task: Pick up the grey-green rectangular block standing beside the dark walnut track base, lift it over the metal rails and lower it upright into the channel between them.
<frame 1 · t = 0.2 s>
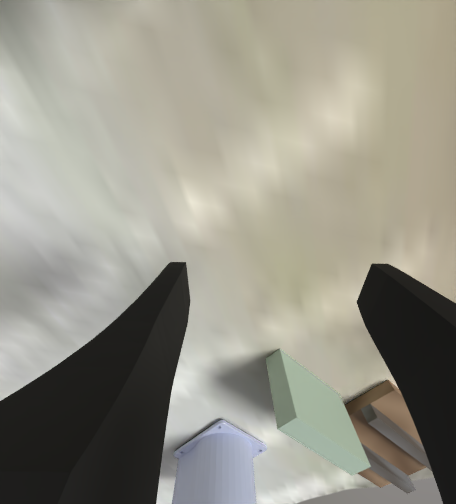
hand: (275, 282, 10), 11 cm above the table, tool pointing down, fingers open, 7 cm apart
track base: (381, 434, 32), on the table
grey-green rectangular block: (303, 376, 27), on the table
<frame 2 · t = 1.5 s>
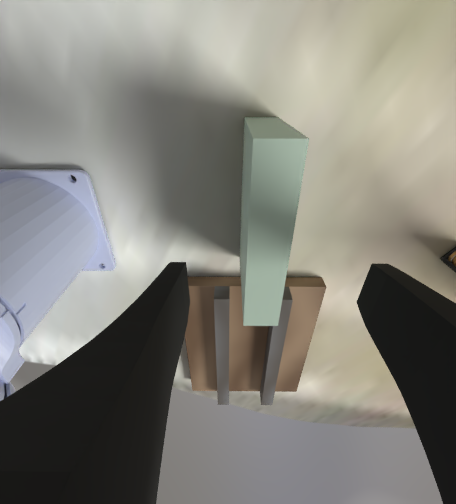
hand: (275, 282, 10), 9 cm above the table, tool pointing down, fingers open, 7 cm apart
track base: (246, 337, 26), on the table
grey-green rectangular block: (255, 197, 18), on the table
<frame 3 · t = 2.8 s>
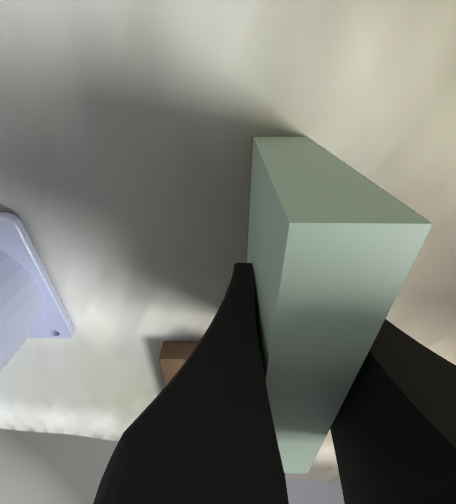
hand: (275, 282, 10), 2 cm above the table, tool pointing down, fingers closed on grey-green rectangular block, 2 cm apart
track base: (251, 405, 20), on the table
grey-green rectangular block: (268, 249, 12), on the table, touching gripper
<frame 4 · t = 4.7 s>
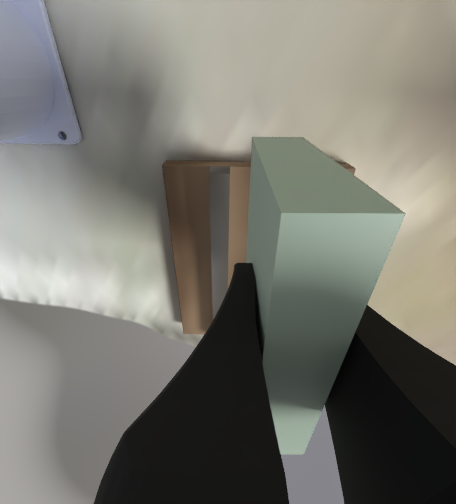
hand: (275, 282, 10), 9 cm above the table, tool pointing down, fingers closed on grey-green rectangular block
track base: (249, 260, 21), on the table
grey-green rectangular block: (266, 245, 13), point 6 cm above the table, touching gripper
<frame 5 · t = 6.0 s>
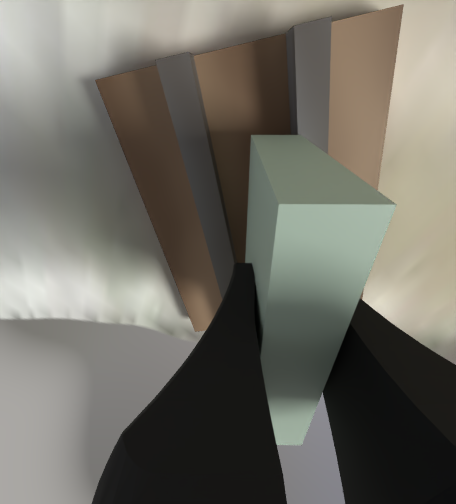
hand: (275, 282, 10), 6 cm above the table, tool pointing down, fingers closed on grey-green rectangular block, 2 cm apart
track base: (260, 216, 15), on the table
grey-green rectangular block: (265, 241, 13), point 3 cm above the table, touching gripper, track base
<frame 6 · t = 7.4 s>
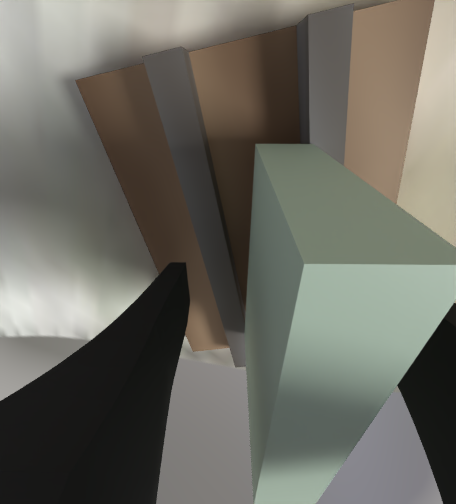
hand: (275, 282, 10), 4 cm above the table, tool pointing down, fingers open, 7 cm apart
track base: (264, 230, 14), on the table
grey-green rectangular block: (270, 261, 11), point 3 cm above the table, touching track base
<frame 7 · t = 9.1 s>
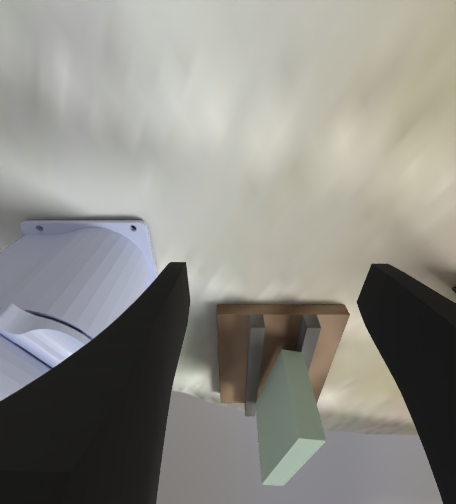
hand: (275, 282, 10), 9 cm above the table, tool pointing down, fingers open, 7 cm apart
track base: (273, 356, 28), on the table
grey-green rectangular block: (276, 380, 26), point 3 cm above the table, touching track base
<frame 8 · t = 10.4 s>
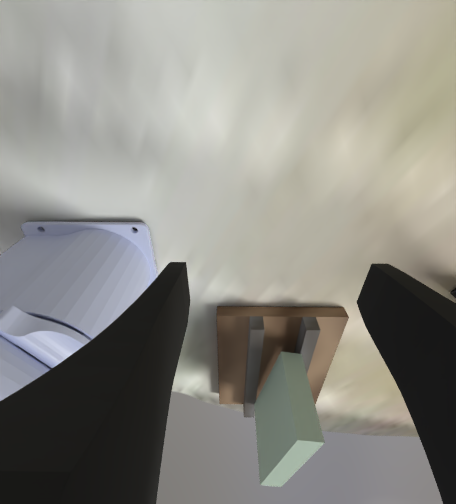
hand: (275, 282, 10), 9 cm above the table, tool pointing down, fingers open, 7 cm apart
track base: (272, 357, 28), on the table
grey-green rectangular block: (275, 381, 26), point 3 cm above the table, touching track base
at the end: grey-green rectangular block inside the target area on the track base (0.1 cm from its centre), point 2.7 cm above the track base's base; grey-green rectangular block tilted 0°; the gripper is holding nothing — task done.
